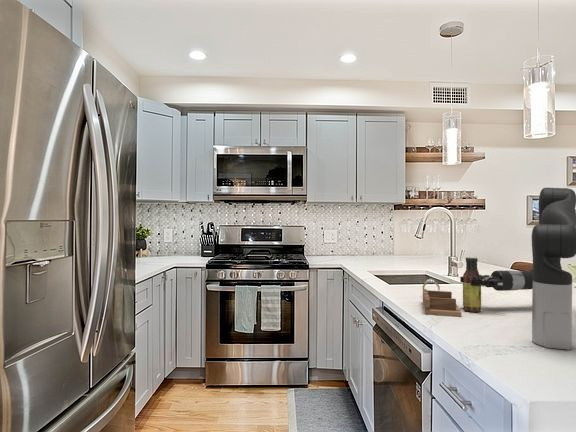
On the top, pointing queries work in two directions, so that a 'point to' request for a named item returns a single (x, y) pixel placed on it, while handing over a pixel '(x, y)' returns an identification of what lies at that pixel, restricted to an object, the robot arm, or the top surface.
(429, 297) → the rack
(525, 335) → the top surface
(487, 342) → the top surface
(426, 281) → the ring
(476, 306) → the sauce bottle
